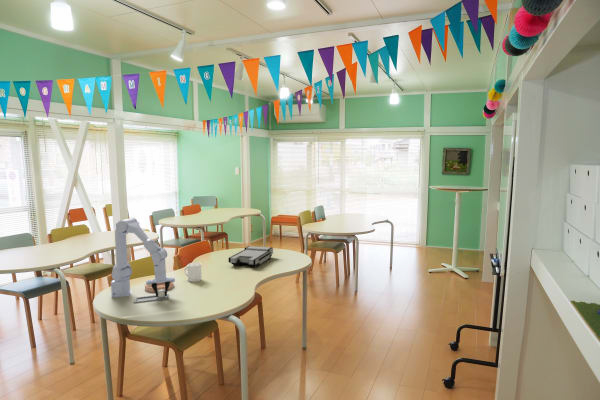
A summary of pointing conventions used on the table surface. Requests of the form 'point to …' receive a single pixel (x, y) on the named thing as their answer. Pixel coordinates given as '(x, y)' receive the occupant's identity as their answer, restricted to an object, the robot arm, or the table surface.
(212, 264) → the table surface
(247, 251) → the game console
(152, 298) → the parts tray
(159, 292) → the pale grey cylinder
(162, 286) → the bowl
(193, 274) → the mug
